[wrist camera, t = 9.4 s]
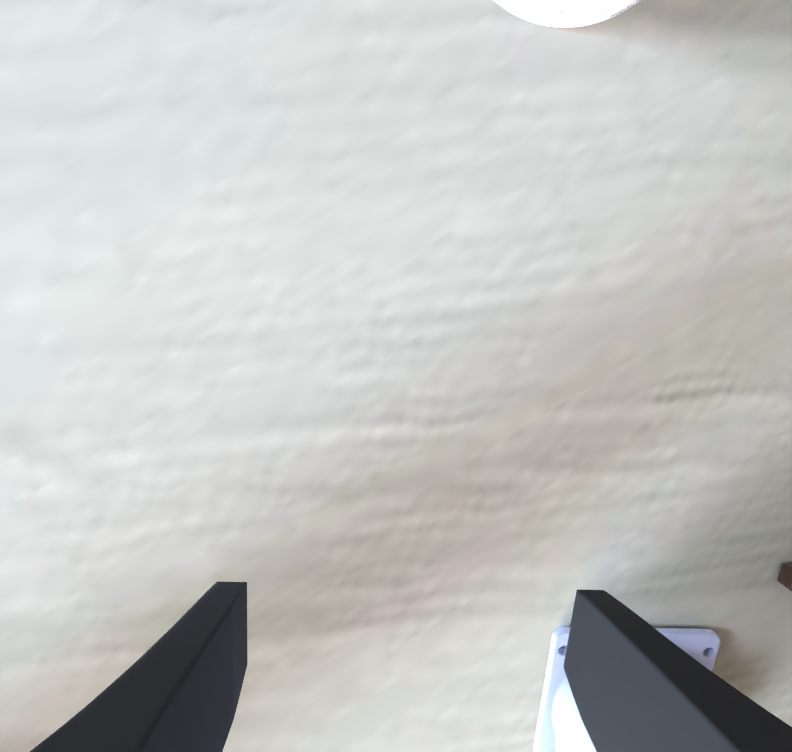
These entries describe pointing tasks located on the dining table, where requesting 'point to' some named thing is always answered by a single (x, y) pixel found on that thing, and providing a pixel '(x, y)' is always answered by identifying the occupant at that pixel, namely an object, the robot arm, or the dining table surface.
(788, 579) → the walnut bay
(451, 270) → the dining table surface
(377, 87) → the dining table surface
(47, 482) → the dining table surface
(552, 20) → the teacup with lid
